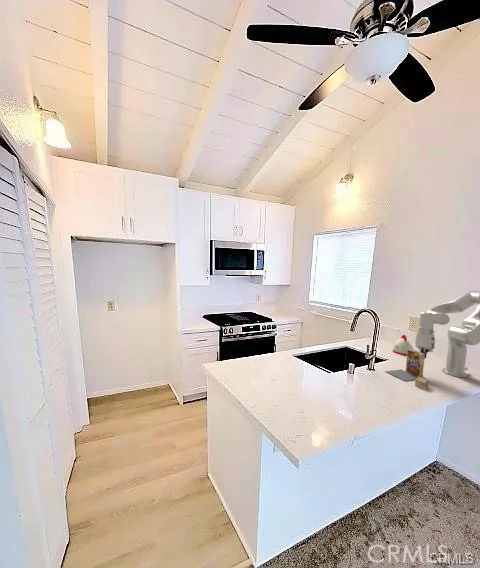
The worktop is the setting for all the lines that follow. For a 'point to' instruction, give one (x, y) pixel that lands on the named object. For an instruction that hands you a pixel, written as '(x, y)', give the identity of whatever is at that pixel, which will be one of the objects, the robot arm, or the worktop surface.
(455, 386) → the worktop surface
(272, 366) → the worktop surface
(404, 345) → the kitchen timer
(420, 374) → the candy box
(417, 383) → the oak block
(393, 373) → the mat
